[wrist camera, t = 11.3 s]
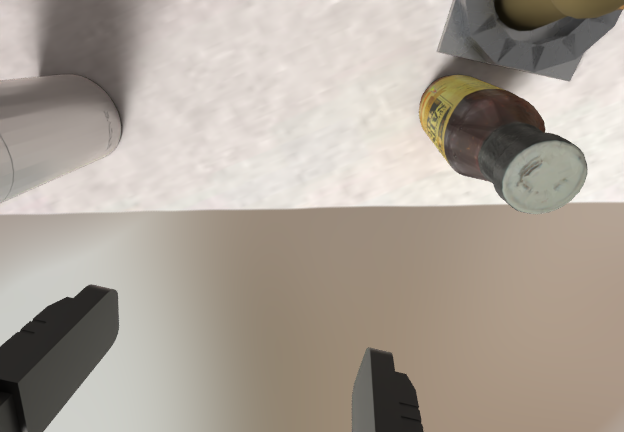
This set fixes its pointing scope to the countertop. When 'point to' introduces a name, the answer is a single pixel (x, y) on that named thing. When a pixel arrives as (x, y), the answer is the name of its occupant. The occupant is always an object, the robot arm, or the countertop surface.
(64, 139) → the robot arm
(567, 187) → the sauce bottle
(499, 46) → the hub
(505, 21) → the cork
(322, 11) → the countertop surface
